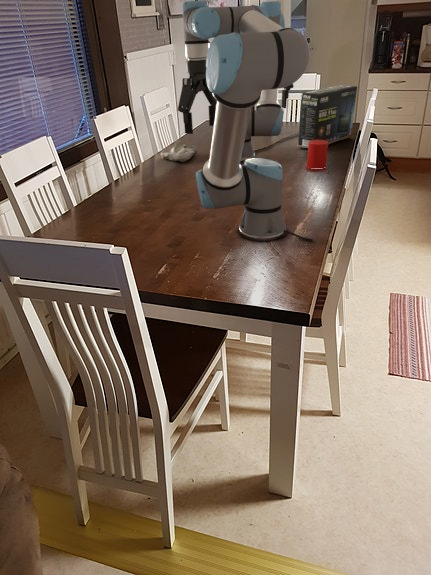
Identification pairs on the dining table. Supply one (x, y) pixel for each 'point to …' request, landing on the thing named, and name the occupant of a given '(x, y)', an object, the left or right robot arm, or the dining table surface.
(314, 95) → the router box
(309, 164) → the canister
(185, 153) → the fossil
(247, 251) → the dining table surface
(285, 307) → the dining table surface
